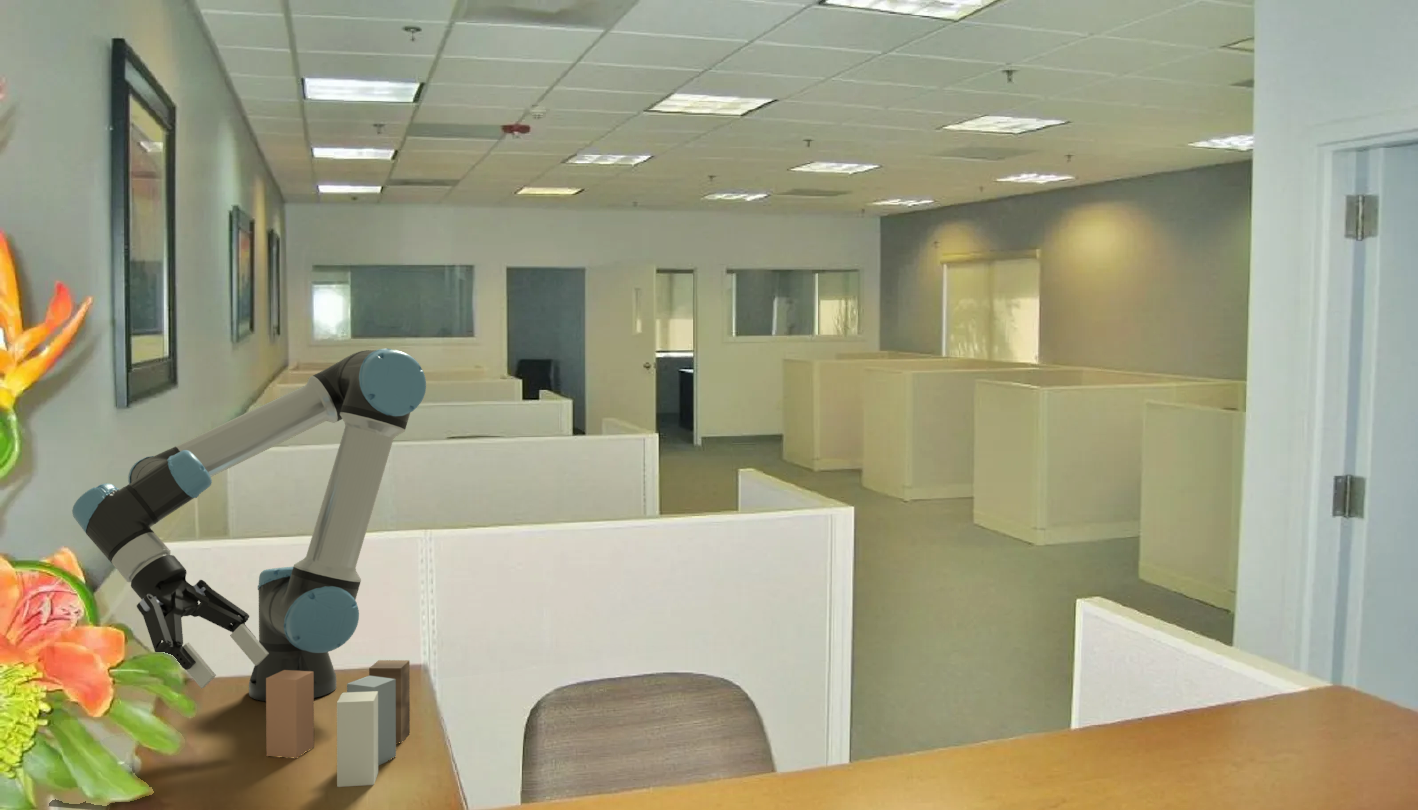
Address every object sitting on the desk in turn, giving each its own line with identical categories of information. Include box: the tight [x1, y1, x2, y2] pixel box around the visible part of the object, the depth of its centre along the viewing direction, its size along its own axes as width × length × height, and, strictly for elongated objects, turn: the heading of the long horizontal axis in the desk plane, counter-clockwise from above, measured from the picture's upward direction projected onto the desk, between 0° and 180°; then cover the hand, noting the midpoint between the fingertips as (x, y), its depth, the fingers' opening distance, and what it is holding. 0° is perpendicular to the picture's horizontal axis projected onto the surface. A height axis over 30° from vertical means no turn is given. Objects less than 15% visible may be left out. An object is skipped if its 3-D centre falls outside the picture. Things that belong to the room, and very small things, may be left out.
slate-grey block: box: [346, 675, 397, 767], centre depth 169 cm, size 5×5×12 cm
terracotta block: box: [265, 670, 315, 759], centre depth 173 cm, size 5×5×12 cm
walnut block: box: [368, 659, 411, 744], centre depth 179 cm, size 5×5×12 cm
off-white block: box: [336, 691, 379, 788], centre depth 161 cm, size 5×5×12 cm
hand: (236, 670), depth 173 cm, fingers open, 13 cm apart
